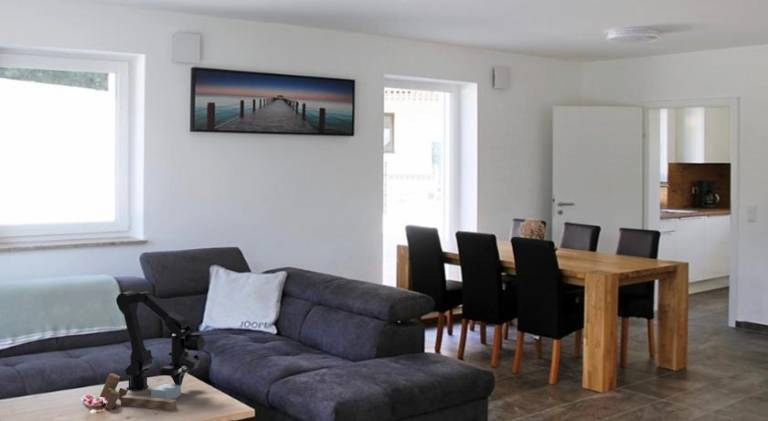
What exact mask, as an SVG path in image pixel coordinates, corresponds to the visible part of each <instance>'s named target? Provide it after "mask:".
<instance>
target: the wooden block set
mask: <svg viewBox="0 0 768 421" xmlns="http://www.w3.org/2000/svg"><path fill="white" fill-rule="evenodd" d="M120 380H121V376H120V375H118V374H116V373H113V372H111V373H109V374H108V376H107V378H106V381H105V383H104V386H103V387H102V390H101V393H100V394H99V397H106V398H107V399H108V400H107V401H108V403H107V406H106V407H105V408H106V409H109V410H113V409H114V408H115V406H116V403H117V401H118V398H121V397H122V396H125V395H127V394H128V392H129V389H125V388H122V387H120V388H119V390H118V391H117V390H116V389H117V386H118V384H119V382H120Z"/></svg>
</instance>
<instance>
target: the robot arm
mask: <svg viewBox="0 0 768 421" xmlns="http://www.w3.org/2000/svg"><path fill="white" fill-rule="evenodd" d="M115 302H116V305H117V307H118V310H119V311H120V312H121V313H122V315H123V316H124V321H125V325H126V328H127V329H126V330H127V333H128V337H129V342H130V347H131V353H130V357H129V359H130V364H129V365H128V366H127V367H126V368H125V370H124V372H125V375H126V376H128V386H127V387H126V389H125V390H131V391H133V390H134V391H142V390H144V389H146V388H149V385H148V377H147V372H149V369H150V367H151V366H152V364H153V359H154V358H153V356H152V350H151V349H147V348H146V346H145V344H144V339H143V334H142V331H141V327H140V323H139V322H140V321H139V317H138V313H137V311H138V307H139V303H142V304H144V305H145V306H146V307H147V308H148V309H149V310H150V311H152V312H153V313H154V314H155V315H156V316H157V317H158V318H160V319H161V320H162V321H163V323H164V326H165V327H166V328H167V330H168V331H169V333H168V334H167V335H166V336H165V339H170V352H168V356H171V357H170V362H169V363H168V365H165V366H162V367H161V368H160V369H159V376H164V377H165V376H168V377H171V379H172V381H173V384H174V385H181V386H182V383H183V381H184V378H185V375H186V374H187V373H188V372H189V371H190V370H191V371H193V370H195V369H198V367H199V364H201V362H202V361H201V355H200V354H195V355H194V356H193V355H190V354H189V351H192V352H193V351H194V352H202V351H203V350H204V348H205V344H206V343H205V342H206V340H205V339H204V337H203V334H202V333H200V332H199V333H194V331H193V329H192V327H191V325H189V323H188V322H189V321H188V320H187V318H185V317H184V316H182V315H181V314H179V313H176V312H173V311H172V310H171V309H170V308H168V307H167V306H166V305H165V304H164V303H162V302H161V301H160V300H159V299H158V298H156V297H155V296H154V295H153V294H152V292H150V291H148V290H146V291H140V292H134V291H132V290H131V291H129V290H128V291H126V292H121V293H119V294H118V295H117V296H116V298H115Z"/></svg>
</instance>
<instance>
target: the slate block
mask: <svg viewBox="0 0 768 421" xmlns="http://www.w3.org/2000/svg"><path fill="white" fill-rule="evenodd" d="M150 390H151V391H150V392H151V396H150V397H151V398H161V399H173V400H175V399H178V398H179V396H180V397H182V396H181V395H182V384H181V385H175V383H164V384H161V385H159V386H156V387H154V388H151V389H150ZM174 398H175V399H174Z"/></svg>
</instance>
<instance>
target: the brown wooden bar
mask: <svg viewBox="0 0 768 421" xmlns="http://www.w3.org/2000/svg"><path fill="white" fill-rule="evenodd" d="M120 406H127V407H135V408H136V407H137V408H145V407H147V408H146V409H155V408H159V409H158V410H165V409H167V411H169V410H170V411H173V410H176V409H177V407H178V406H177V399H173V400H172V399H161V398H151V396H150V397H149V396H138V395H137V396H136V395H129V394H128V395H127V394H126V395H125V396H122V397H120Z"/></svg>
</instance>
